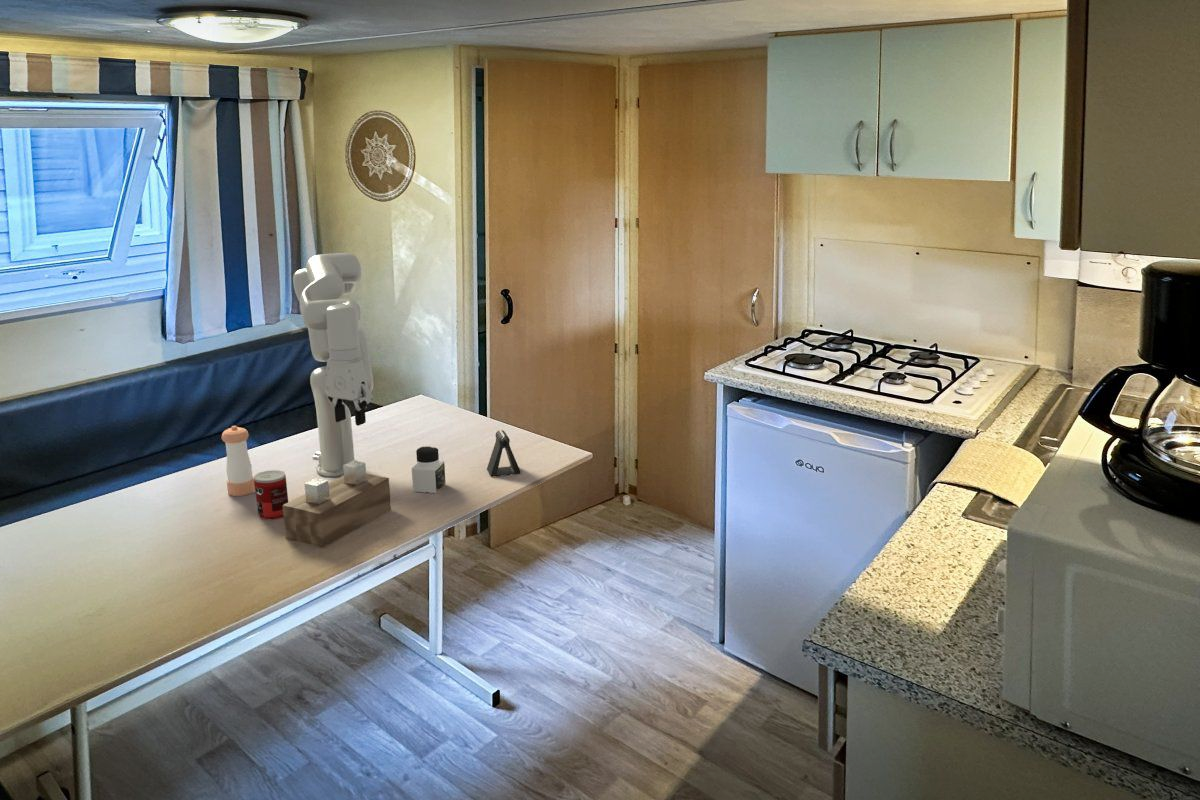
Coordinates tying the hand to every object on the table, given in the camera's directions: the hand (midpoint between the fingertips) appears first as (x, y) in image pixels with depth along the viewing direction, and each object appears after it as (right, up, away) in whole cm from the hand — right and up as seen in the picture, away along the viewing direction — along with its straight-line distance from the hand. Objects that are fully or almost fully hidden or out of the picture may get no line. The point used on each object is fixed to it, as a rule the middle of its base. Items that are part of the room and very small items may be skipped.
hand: (350, 421), depth 246 cm
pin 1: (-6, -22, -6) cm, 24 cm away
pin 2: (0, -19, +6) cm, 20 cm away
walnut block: (-3, -26, +1) cm, 26 cm away
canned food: (-22, -25, +8) cm, 34 cm away
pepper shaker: (-36, -20, +23) cm, 48 cm away
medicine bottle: (+16, -19, +24) cm, 35 cm away
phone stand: (+36, -16, +36) cm, 53 cm away
